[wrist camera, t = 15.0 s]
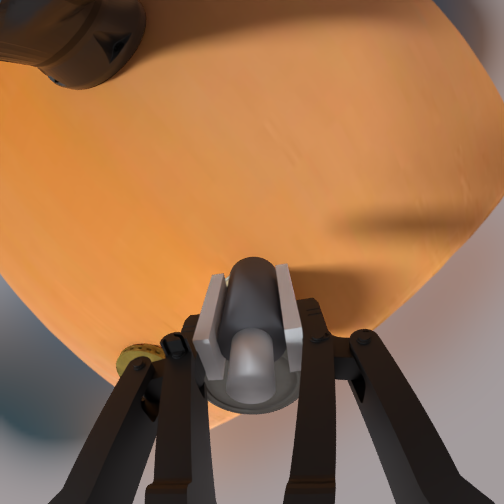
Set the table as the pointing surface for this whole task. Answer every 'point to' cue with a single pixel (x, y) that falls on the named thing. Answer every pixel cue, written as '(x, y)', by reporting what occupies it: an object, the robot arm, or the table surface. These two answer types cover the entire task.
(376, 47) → the table surface
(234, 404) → the coffee can
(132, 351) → the olive gold disc
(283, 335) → the grey white-capped bottle
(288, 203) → the table surface
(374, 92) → the table surface
